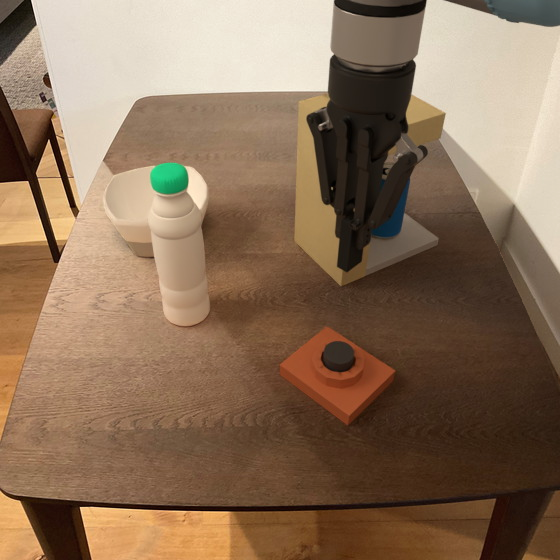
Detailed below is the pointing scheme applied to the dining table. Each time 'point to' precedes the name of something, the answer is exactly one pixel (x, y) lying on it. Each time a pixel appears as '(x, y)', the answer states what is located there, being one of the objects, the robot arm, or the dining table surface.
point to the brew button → (338, 356)
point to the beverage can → (395, 222)
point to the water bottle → (178, 246)
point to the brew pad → (337, 377)
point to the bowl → (143, 205)
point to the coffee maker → (322, 219)
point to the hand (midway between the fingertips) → (349, 264)
